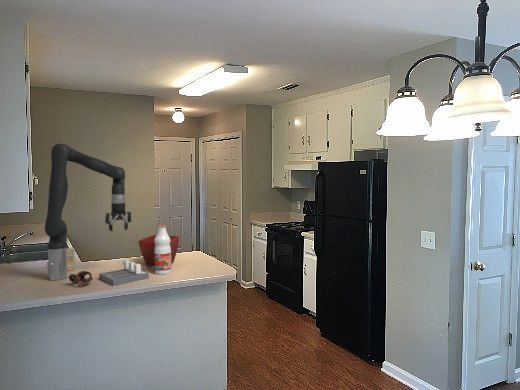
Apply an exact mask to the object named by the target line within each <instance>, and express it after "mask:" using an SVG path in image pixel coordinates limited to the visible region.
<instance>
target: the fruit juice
mask: <svg viewBox="0 0 520 390" xmlns="http://www.w3.org/2000/svg"><path fill="white" fill-rule="evenodd" d="M167 231H168V230H167V224H158V225H157V233H156V237H155V239H154V242H155V249H154V254H155V267H154V271H155V274H156V275H161V276H163V275H169V274H171V273H172V269H173V268H172V267H173V266H172V263H171V247H170V237H169V236H170V235H169V234H168V232H167Z"/></svg>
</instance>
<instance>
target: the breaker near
mask: <svg viewBox="0 0 520 390" xmlns="http://www.w3.org/2000/svg"><path fill="white" fill-rule="evenodd" d="M141 270H142V267H141V264H140V263H135V264H134V273H135V274H140V273H141Z"/></svg>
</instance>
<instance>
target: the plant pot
mask: <svg viewBox="0 0 520 390" xmlns="http://www.w3.org/2000/svg"><path fill="white" fill-rule="evenodd" d="M156 235H157V234H156ZM156 235H149V236H148V237H144V238H141V239H138V246H139V249H140V254H141V255H142V259H143V261H144V263H145V266H146V267H154V268H155V254H154V249H155V242H154V239H155V237H156ZM168 236H169V237H170V247H171V264H173V263H174V262H175V259H176V255H177V254H178V253H177V252H178V248H179V247H178V246H179V242H180V236H178V235H168Z"/></svg>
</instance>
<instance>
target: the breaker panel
mask: <svg viewBox="0 0 520 390" xmlns="http://www.w3.org/2000/svg"><path fill="white" fill-rule="evenodd" d="M149 277H150V276H149V272H146V271H144V270H142V269H141V273H140V274H135V273H134V272H130V271H129V270H125V269H124V268H122V269H117V270H112V271H111V270H110V271H107V272H100V273H98V279H99V280H101V281H103V282H105V283H107V284H109V285H111V286H113V287H115V286H119V285H124V284H128V283H134V282H138V281H142V280H149V279H150V278H149Z"/></svg>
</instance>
